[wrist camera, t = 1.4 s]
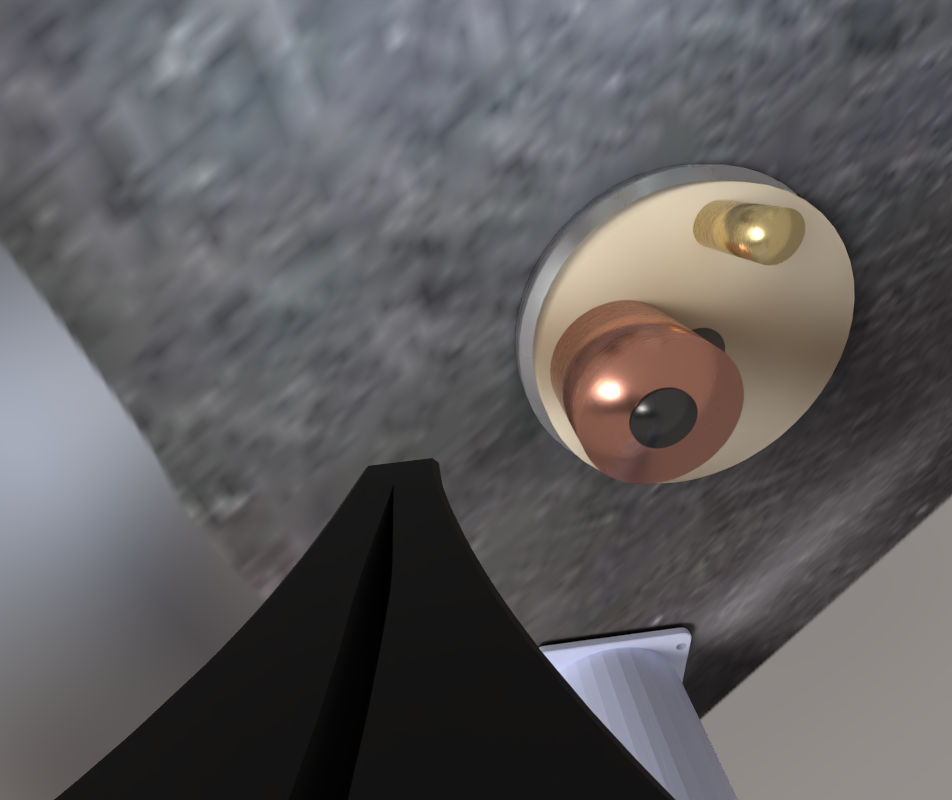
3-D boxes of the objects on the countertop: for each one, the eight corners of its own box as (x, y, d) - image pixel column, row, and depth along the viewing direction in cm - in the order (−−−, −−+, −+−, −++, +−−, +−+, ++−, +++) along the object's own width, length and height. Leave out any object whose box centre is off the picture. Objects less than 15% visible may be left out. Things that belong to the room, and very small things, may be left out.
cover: (672, 415, 15) (732, 477, 12) (550, 429, 15) (580, 496, 12) (688, 292, 13) (763, 331, 10) (549, 308, 13) (583, 351, 10)
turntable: (785, 447, 17) (867, 513, 14) (536, 477, 17) (560, 552, 14) (862, 164, 13) (1007, 164, 10) (527, 197, 13) (560, 210, 9)
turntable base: (774, 439, 19) (792, 453, 18) (521, 470, 18) (525, 486, 17) (849, 148, 14) (879, 147, 13) (506, 181, 13) (511, 183, 13)
